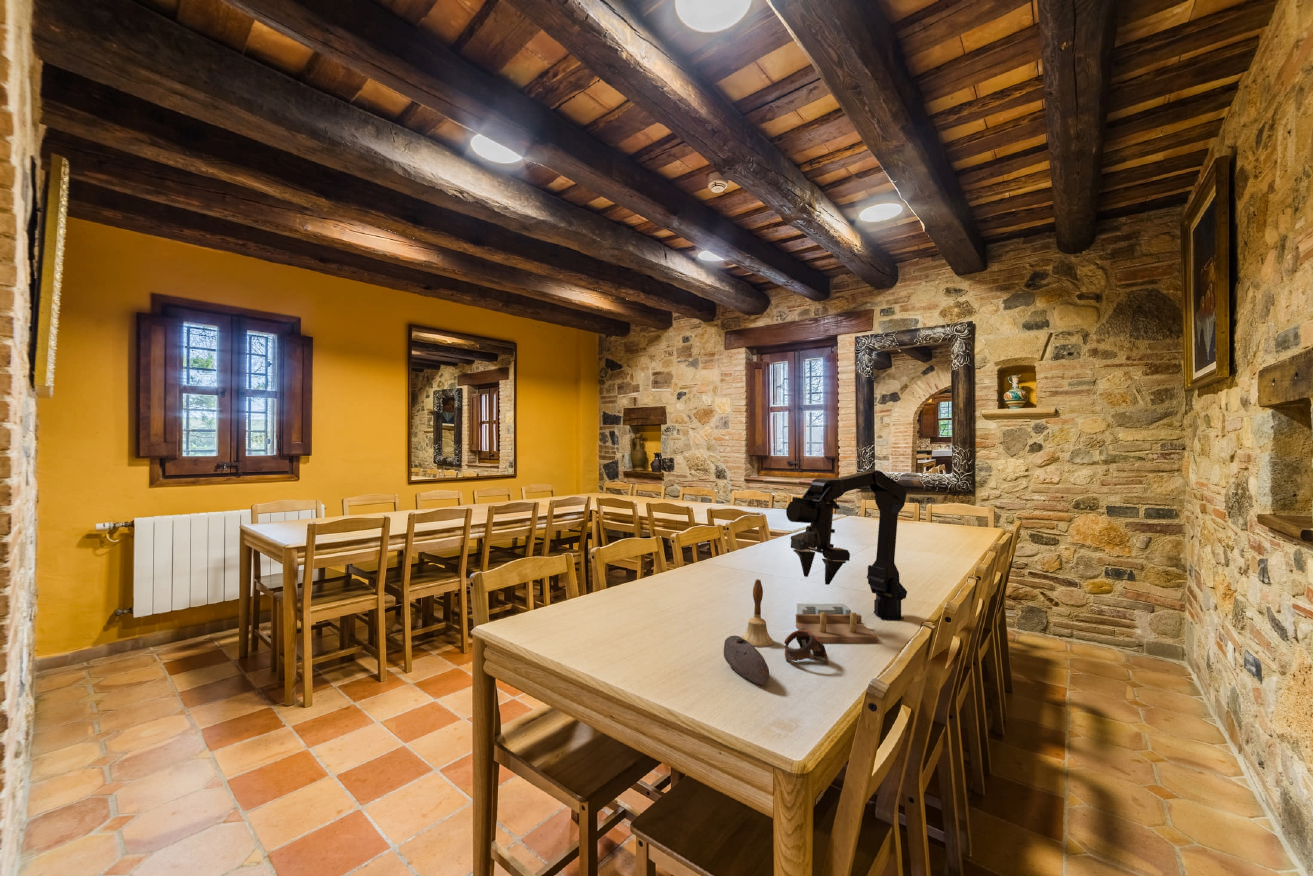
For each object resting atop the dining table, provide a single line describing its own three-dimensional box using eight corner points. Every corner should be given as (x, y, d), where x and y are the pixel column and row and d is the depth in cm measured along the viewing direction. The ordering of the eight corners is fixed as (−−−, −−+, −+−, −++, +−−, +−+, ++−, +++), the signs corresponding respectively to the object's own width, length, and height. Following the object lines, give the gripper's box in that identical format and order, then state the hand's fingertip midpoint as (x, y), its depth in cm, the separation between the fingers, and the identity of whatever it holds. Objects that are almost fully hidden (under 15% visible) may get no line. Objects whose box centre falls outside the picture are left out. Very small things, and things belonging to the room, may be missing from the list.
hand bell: (776, 638, 141) (776, 577, 141) (769, 649, 133) (769, 585, 133) (745, 633, 144) (745, 574, 145) (736, 644, 137) (737, 581, 137)
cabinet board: (859, 626, 150) (859, 603, 150) (877, 642, 138) (877, 617, 138) (795, 626, 150) (795, 603, 150) (808, 642, 138) (808, 617, 138)
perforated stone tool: (777, 689, 112) (777, 656, 112) (755, 693, 110) (756, 659, 110) (741, 662, 126) (741, 632, 126) (721, 665, 124) (721, 635, 124)
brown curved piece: (836, 672, 121) (821, 644, 120) (797, 687, 123) (782, 659, 121) (823, 640, 133) (809, 613, 131) (788, 654, 134) (774, 628, 133)
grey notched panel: (843, 615, 160) (843, 603, 160) (851, 622, 154) (851, 610, 154) (796, 615, 160) (796, 603, 160) (802, 622, 154) (802, 609, 154)
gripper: (777, 517, 155) (772, 572, 154) (819, 527, 137) (813, 588, 137) (809, 520, 159) (804, 573, 158) (853, 529, 141) (848, 589, 140)
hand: (816, 580), depth 148 cm, fingers open, 9 cm apart
